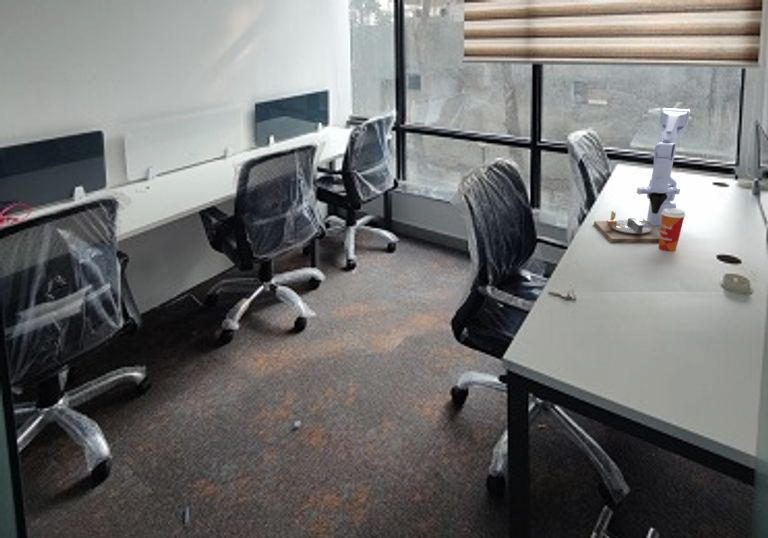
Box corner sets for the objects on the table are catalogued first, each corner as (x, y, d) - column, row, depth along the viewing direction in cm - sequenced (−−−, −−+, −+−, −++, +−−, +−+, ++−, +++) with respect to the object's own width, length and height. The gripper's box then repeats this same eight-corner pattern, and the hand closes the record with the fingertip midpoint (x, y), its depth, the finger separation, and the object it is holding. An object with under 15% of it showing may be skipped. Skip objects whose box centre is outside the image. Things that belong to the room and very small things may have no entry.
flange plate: (642, 222, 238) (644, 212, 237) (658, 235, 224) (660, 225, 222) (601, 222, 239) (602, 212, 237) (614, 235, 224) (615, 225, 223)
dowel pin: (613, 223, 239) (615, 211, 237) (614, 224, 238) (616, 212, 236) (609, 223, 239) (610, 211, 237) (610, 224, 238) (612, 212, 236)
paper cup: (651, 245, 220) (657, 207, 215) (671, 244, 221) (678, 207, 215) (662, 253, 213) (669, 214, 208) (683, 252, 213) (690, 213, 208)
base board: (647, 224, 242) (647, 221, 242) (669, 242, 223) (670, 238, 222) (593, 224, 243) (594, 221, 242) (611, 242, 223) (611, 238, 223)
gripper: (644, 179, 216) (638, 216, 221) (686, 179, 216) (679, 216, 221) (637, 174, 223) (631, 210, 228) (677, 174, 222) (671, 210, 228)
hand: (654, 212), depth 225 cm, fingers closed
